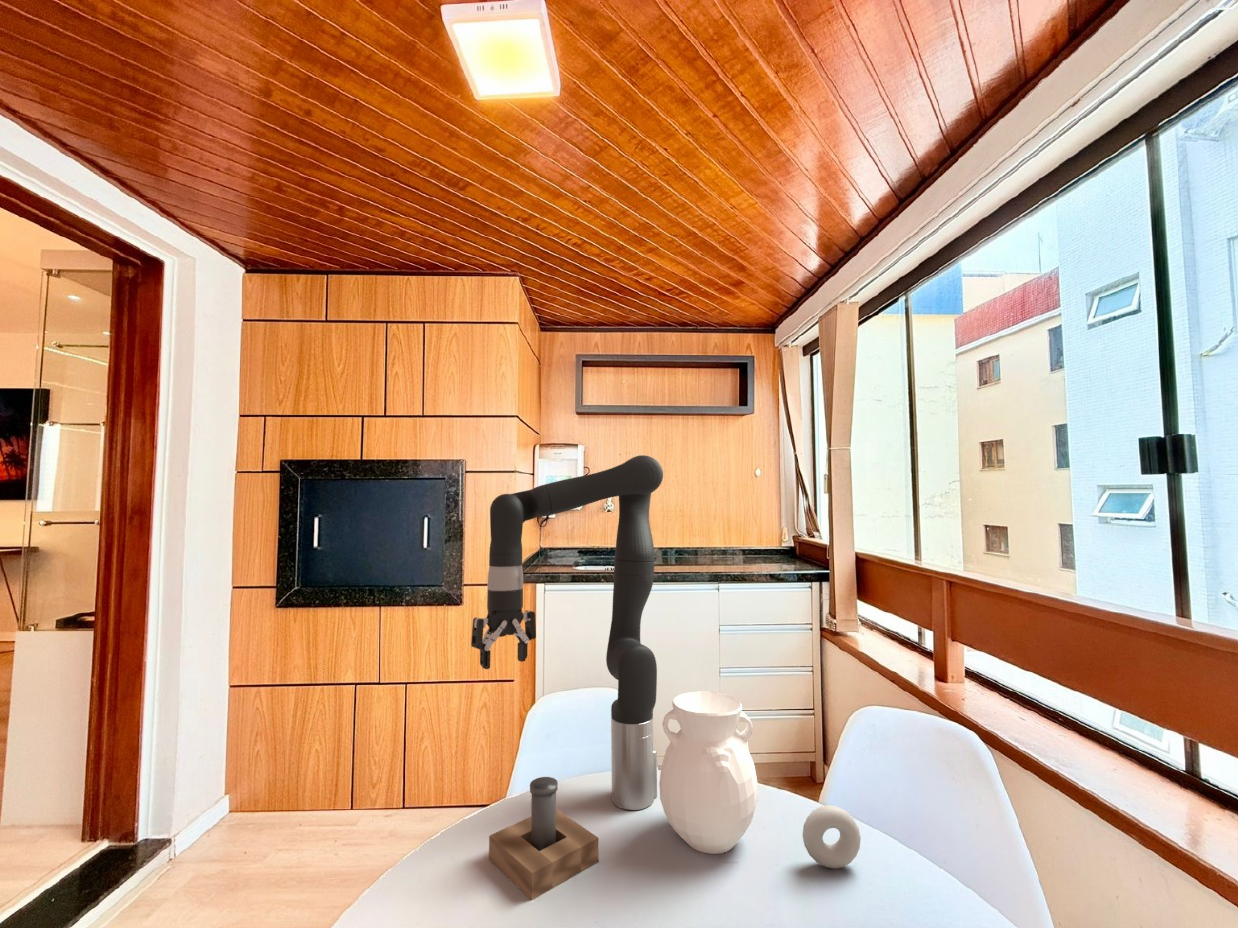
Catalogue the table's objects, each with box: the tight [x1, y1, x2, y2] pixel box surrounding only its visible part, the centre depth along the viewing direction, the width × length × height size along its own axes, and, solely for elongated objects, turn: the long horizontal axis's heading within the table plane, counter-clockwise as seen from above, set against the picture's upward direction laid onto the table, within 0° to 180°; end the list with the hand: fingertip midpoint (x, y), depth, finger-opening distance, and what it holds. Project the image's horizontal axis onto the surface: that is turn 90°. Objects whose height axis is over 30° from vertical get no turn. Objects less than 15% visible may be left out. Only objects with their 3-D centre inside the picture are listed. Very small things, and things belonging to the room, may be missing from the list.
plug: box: [529, 776, 559, 851], centre depth 95 cm, size 5×5×13 cm
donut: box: [802, 804, 862, 869], centre depth 93 cm, size 10×3×10 cm, turn 90°
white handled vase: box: [658, 690, 759, 855], centre depth 102 cm, size 19×18×25 cm
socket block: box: [488, 808, 600, 901], centre depth 95 cm, size 14×14×4 cm
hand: (504, 664), depth 112 cm, fingers open, 8 cm apart
